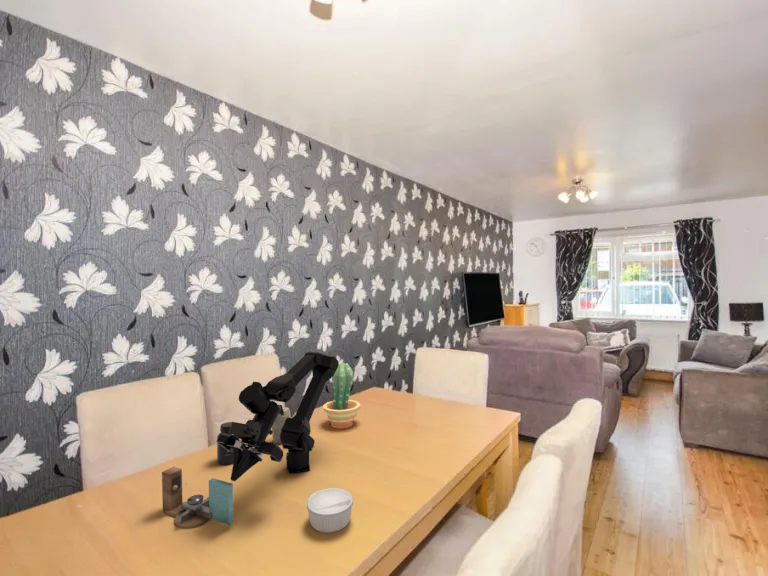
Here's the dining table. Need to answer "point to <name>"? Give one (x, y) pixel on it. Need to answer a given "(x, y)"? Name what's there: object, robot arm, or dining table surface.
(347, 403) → the potted cactus
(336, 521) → the ramekin
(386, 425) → the dining table surface
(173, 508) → the stand
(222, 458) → the supplement bottle
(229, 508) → the turnstile
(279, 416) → the beige piece
